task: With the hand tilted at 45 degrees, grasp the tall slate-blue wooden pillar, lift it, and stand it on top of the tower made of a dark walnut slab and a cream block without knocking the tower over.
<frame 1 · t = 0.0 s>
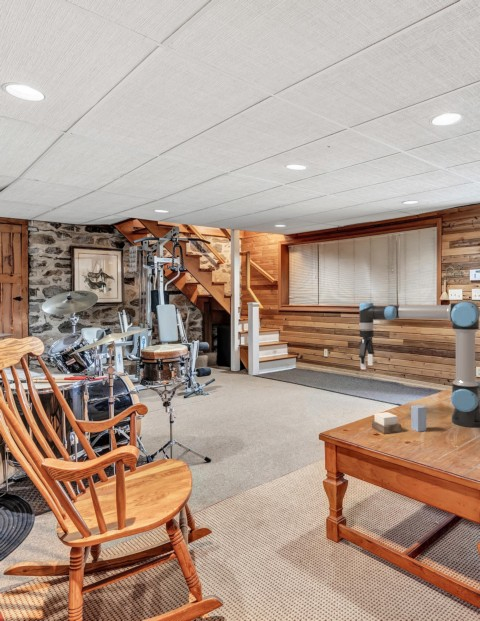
hand: (366, 367, 234), 28 cm above the table, tool pointing down, fingers open, 13 cm apart
walnut tower slab: (386, 430, 211), on the table, touching cream tower block
slate-blue pillar: (418, 429, 210), on the table
cream tower block: (386, 422, 211), point 4 cm above the table, touching walnut tower slab
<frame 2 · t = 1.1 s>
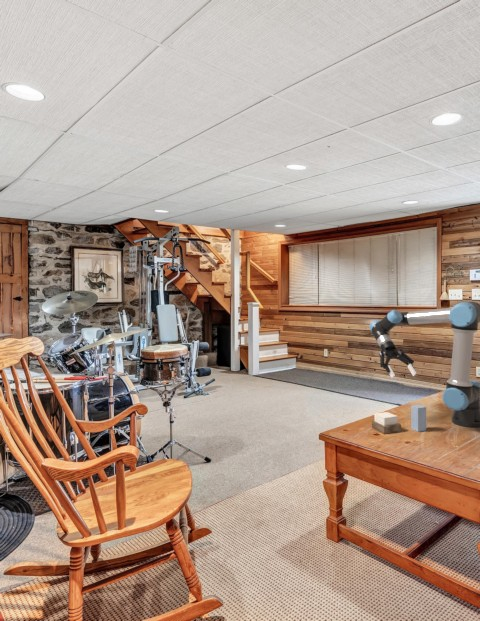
hand: (404, 376, 219), 25 cm above the table, tool tilted 45°, fingers open, 13 cm apart
nothing on the table moved.
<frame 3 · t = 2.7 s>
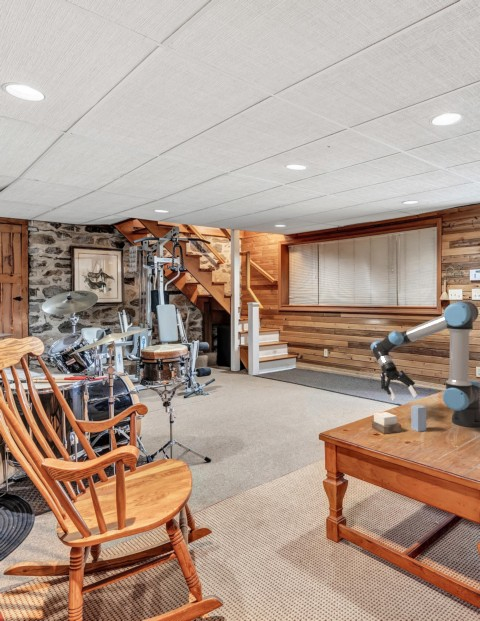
hand: (405, 398, 219), 14 cm above the table, tool tilted 45°, fingers open, 13 cm apart
nothing on the table moved.
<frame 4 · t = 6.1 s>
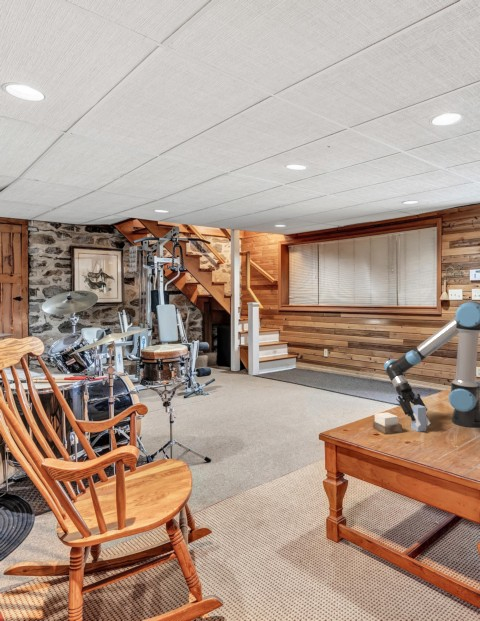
hand: (423, 425, 207), 3 cm above the table, tool tilted 45°, fingers closed on slate-blue pillar, 5 cm apart
slate-blue pillar: (418, 429, 210), on the table, touching gripper
when the fingers open (13 cm above the table, at t = 11.8 s): slate-blue pillar drops 2 cm, resting on cream tower block.
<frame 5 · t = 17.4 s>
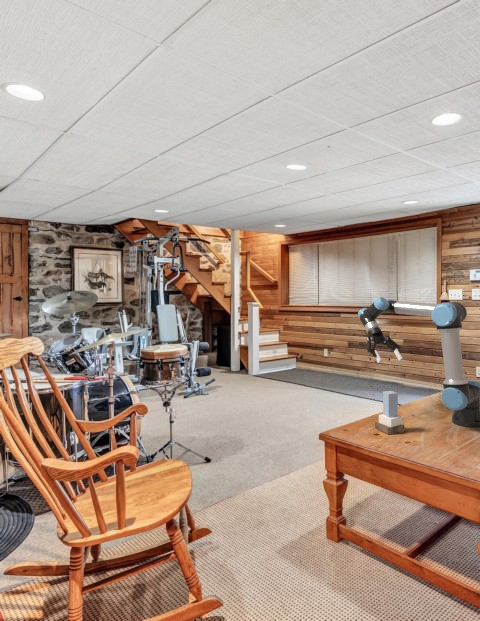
hand: (390, 360, 227), 33 cm above the table, tool tilted 45°, fingers open, 13 cm apart
walnut tower slab: (389, 431, 210), on the table, touching cream tower block
slate-blue pillar: (390, 415, 210), point 8 cm above the table, touching cream tower block
cream tower block: (390, 423, 210), point 4 cm above the table, touching slate-blue pillar, walnut tower slab
at the end: slate-blue pillar 0.3 cm off-centre on the cream tower block, point 4.0 cm above the cream tower block's base; cream tower block 0.5 cm off-centre on the walnut tower slab, point 4.0 cm above the walnut tower slab's base; slate-blue pillar tilted 1° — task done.
